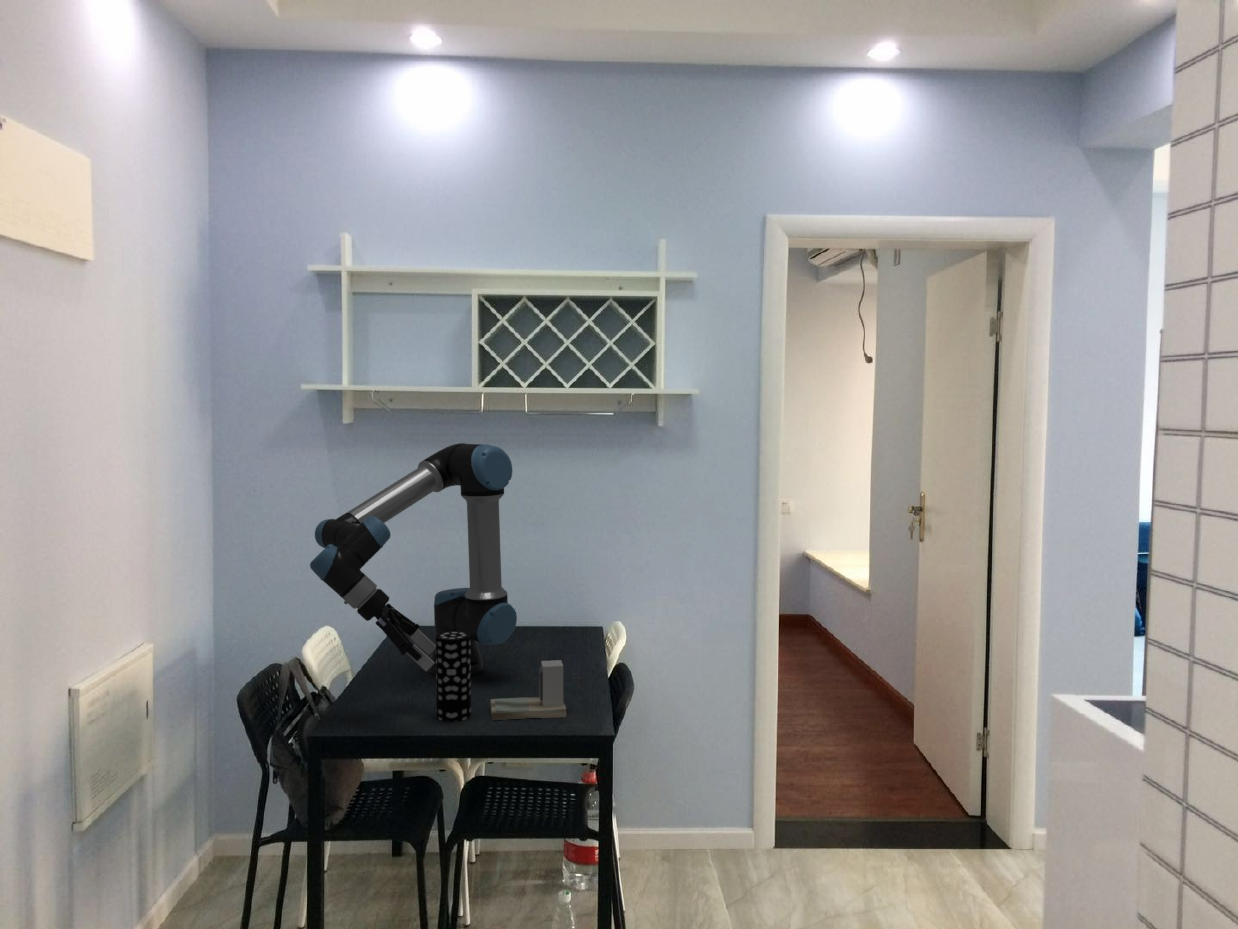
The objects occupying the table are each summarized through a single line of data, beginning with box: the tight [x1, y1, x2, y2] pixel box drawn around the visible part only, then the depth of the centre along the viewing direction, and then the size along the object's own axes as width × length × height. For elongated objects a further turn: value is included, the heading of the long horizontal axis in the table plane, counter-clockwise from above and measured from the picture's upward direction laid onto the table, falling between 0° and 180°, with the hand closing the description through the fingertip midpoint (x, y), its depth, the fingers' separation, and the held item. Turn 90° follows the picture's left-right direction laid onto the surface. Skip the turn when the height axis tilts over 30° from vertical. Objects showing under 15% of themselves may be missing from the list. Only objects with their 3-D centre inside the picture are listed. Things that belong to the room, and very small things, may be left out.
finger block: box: [538, 659, 564, 707], centre depth 229 cm, size 5×6×10 cm
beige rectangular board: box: [490, 696, 567, 721], centre depth 228 cm, size 10×18×2 cm, turn 99°
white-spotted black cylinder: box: [435, 631, 472, 723], centre depth 225 cm, size 8×8×20 cm
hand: (431, 659), depth 223 cm, fingers open, 13 cm apart
